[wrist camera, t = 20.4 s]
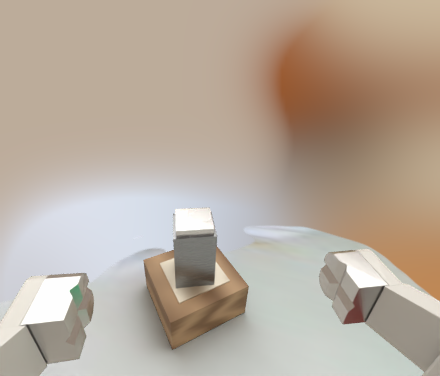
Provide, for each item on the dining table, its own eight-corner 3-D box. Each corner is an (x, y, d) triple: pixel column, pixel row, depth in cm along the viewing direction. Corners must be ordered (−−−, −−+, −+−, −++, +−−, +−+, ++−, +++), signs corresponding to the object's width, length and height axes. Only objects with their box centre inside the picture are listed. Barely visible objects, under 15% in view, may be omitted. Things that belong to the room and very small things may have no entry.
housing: (214, 284, 38) (217, 230, 33) (175, 288, 37) (173, 233, 32) (209, 257, 42) (211, 206, 37) (175, 259, 41) (172, 207, 36)
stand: (172, 349, 35) (170, 321, 32) (146, 285, 44) (143, 259, 41) (244, 312, 41) (248, 285, 38) (208, 261, 50) (209, 236, 47)
